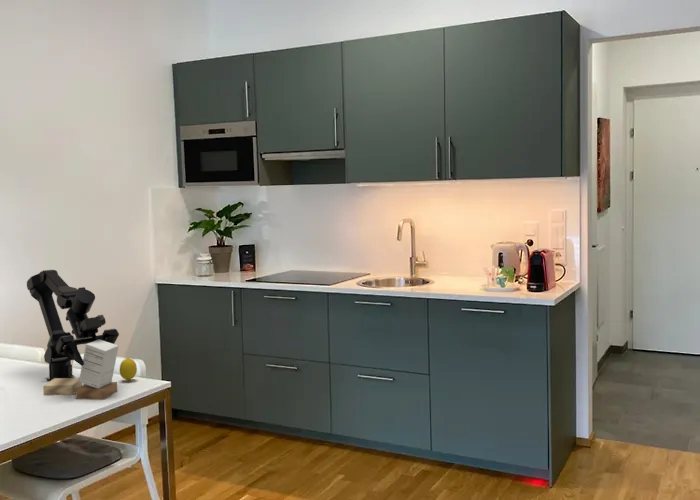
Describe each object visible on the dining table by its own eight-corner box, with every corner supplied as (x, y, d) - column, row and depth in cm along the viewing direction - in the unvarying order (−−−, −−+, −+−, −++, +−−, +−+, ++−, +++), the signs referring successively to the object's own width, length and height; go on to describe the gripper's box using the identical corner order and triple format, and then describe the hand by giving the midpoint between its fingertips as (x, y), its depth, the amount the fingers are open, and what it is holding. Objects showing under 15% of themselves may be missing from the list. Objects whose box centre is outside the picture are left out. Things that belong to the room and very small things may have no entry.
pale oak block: (43, 395, 224) (43, 385, 224) (54, 387, 233) (54, 378, 233) (72, 394, 225) (72, 385, 224) (82, 386, 234) (82, 377, 233)
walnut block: (76, 398, 220) (75, 388, 220) (90, 390, 229) (90, 381, 229) (103, 399, 219) (103, 389, 219) (117, 391, 228) (116, 382, 228)
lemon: (139, 379, 243) (138, 355, 242) (133, 383, 238) (132, 359, 237) (124, 378, 244) (123, 355, 243) (117, 383, 238) (116, 359, 238)
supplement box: (91, 375, 228) (99, 338, 226) (112, 382, 227) (119, 345, 225) (77, 382, 221) (85, 343, 219) (98, 389, 219) (106, 350, 218)
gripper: (58, 310, 219) (75, 352, 212) (115, 303, 232) (133, 342, 225) (48, 332, 225) (65, 373, 218) (104, 324, 238) (121, 362, 231)
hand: (97, 362), depth 223 cm, fingers closed on supplement box, 9 cm apart
